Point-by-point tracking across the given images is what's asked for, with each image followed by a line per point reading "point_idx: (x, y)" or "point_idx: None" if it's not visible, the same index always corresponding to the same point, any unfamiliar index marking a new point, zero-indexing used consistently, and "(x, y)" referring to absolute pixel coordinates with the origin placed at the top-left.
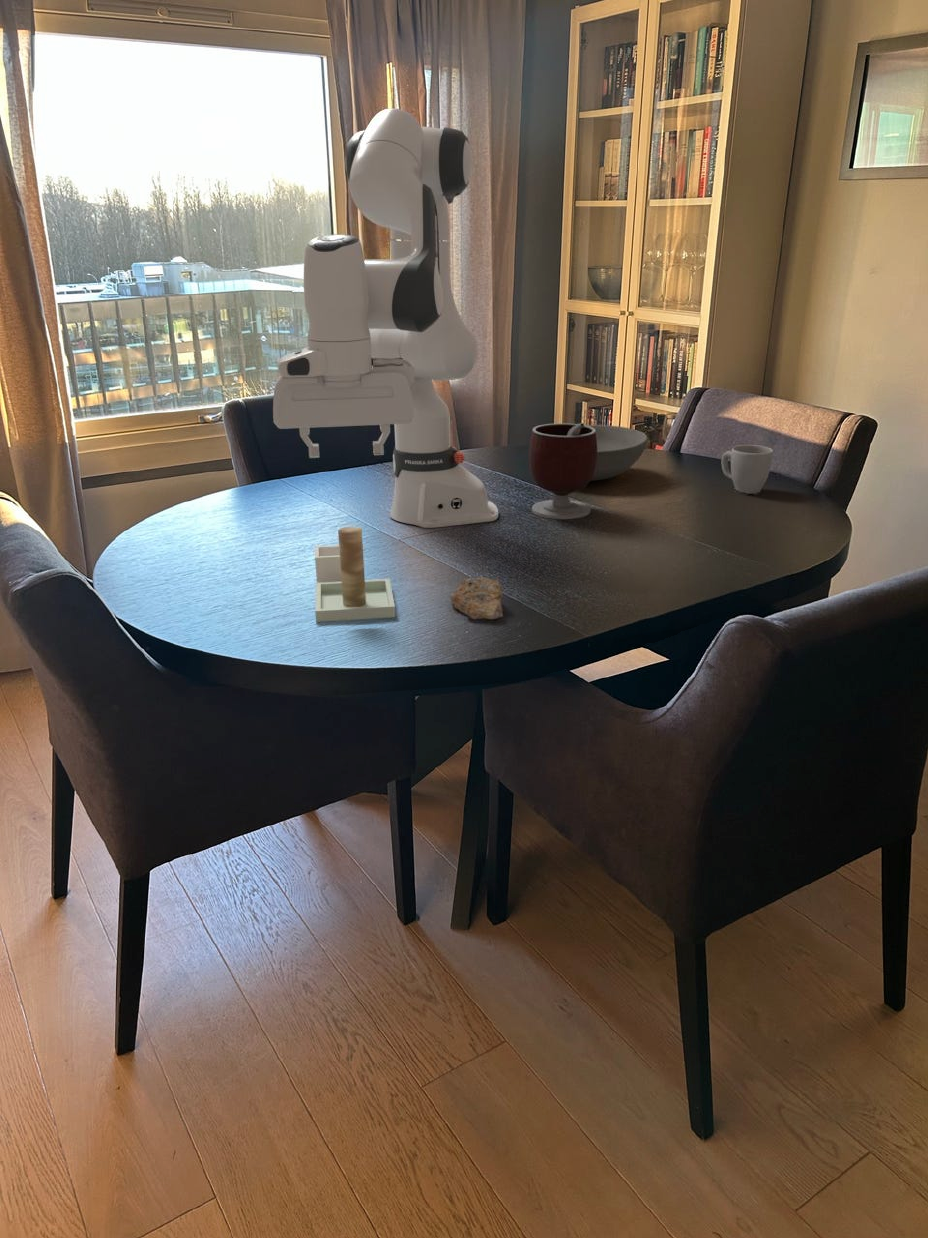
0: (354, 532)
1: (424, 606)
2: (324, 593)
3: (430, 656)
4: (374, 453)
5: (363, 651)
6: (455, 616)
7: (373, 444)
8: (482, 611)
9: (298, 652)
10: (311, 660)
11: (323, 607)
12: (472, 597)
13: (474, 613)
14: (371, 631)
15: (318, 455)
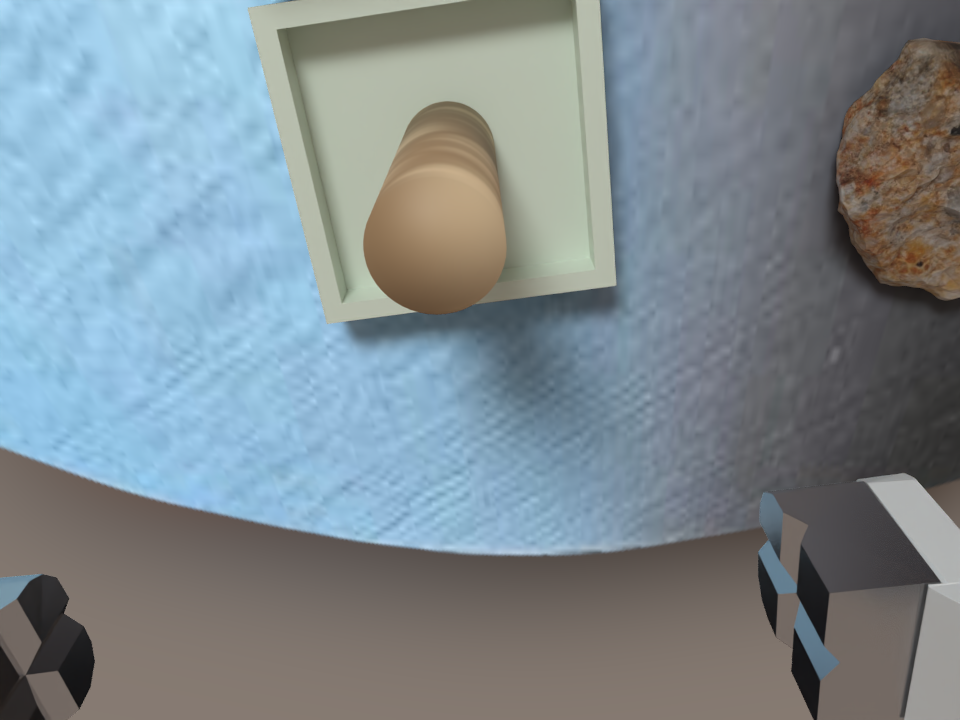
0: (467, 288)
1: (723, 134)
2: (301, 35)
3: (699, 500)
4: (772, 609)
5: (513, 473)
6: (824, 232)
7: (812, 700)
8: (929, 284)
9: (328, 477)
10: (376, 519)
11: (333, 194)
12: (927, 212)
13: (896, 282)
14: (527, 348)
15: (80, 690)
